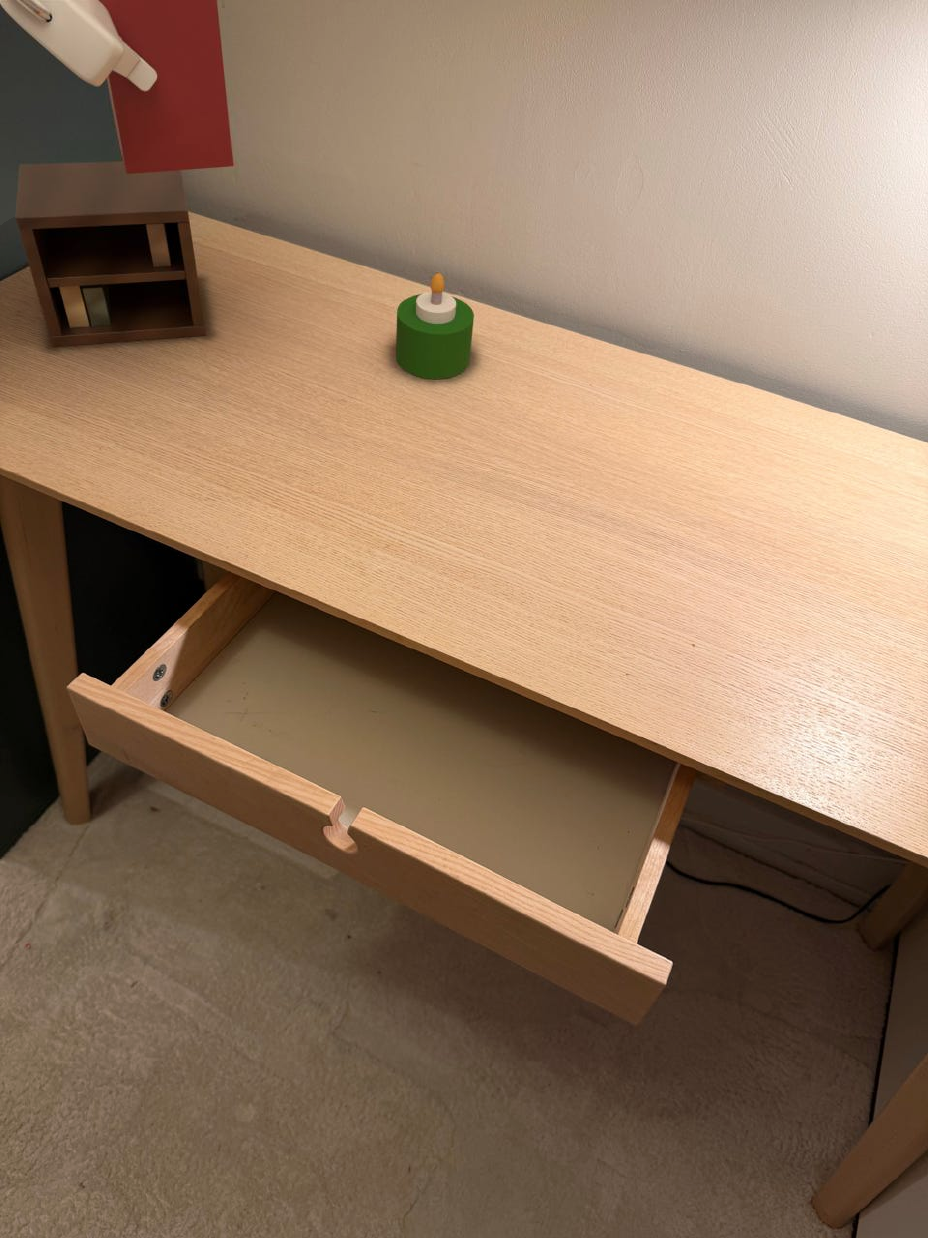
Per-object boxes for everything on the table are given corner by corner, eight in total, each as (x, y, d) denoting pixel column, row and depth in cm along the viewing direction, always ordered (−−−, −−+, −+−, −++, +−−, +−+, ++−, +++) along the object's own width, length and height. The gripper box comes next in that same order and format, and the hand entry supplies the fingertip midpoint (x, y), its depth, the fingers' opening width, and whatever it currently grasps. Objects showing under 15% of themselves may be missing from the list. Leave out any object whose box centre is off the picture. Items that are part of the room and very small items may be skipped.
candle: (403, 381, 98) (406, 296, 91) (389, 339, 104) (391, 255, 96) (477, 376, 100) (486, 292, 93) (460, 335, 105) (467, 252, 98)
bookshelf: (52, 346, 97) (15, 217, 87) (54, 289, 105) (19, 163, 94) (206, 335, 101) (187, 210, 91) (197, 280, 109) (179, 159, 98)
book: (127, 174, 77) (93, -6, 67) (122, 160, 78) (88, -18, 69) (233, 166, 80) (216, -8, 70) (226, 152, 81) (208, -20, 71)
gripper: (13, -78, 56) (196, 88, 66) (-9, -153, 68) (150, -2, 78) (-43, 8, 58) (144, 156, 68) (-54, -79, 70) (106, 58, 80)
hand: (147, 71), depth 73 cm, fingers closed on book, 3 cm apart
